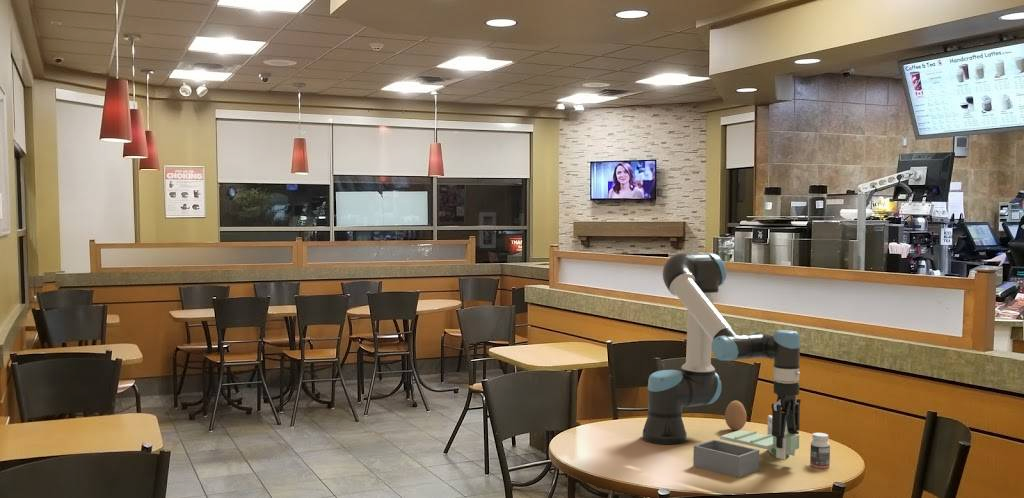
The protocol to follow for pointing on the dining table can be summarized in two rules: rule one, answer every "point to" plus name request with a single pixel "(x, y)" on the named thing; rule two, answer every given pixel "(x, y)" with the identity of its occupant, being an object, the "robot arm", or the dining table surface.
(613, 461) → the dining table surface
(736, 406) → the egg
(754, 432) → the lid
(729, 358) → the robot arm
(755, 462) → the tub
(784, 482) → the dining table surface
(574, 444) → the dining table surface
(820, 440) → the pill bottle
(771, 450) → the ink box
